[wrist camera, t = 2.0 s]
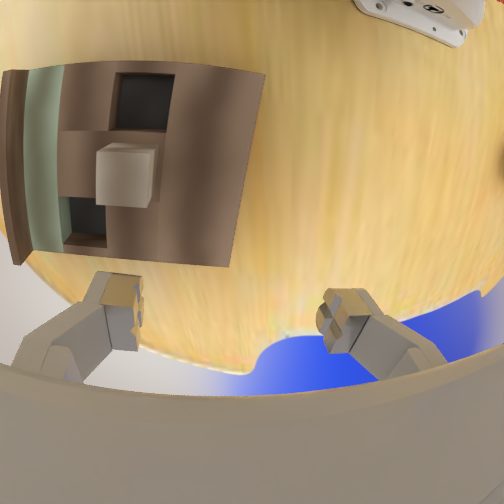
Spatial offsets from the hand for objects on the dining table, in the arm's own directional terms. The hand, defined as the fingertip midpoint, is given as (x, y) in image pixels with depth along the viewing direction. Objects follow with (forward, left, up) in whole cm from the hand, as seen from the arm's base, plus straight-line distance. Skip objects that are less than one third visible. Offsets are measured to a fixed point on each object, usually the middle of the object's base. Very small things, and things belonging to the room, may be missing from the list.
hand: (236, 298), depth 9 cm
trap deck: (+8, 0, -19) cm, 21 cm away
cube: (+7, 0, -16) cm, 18 cm away
